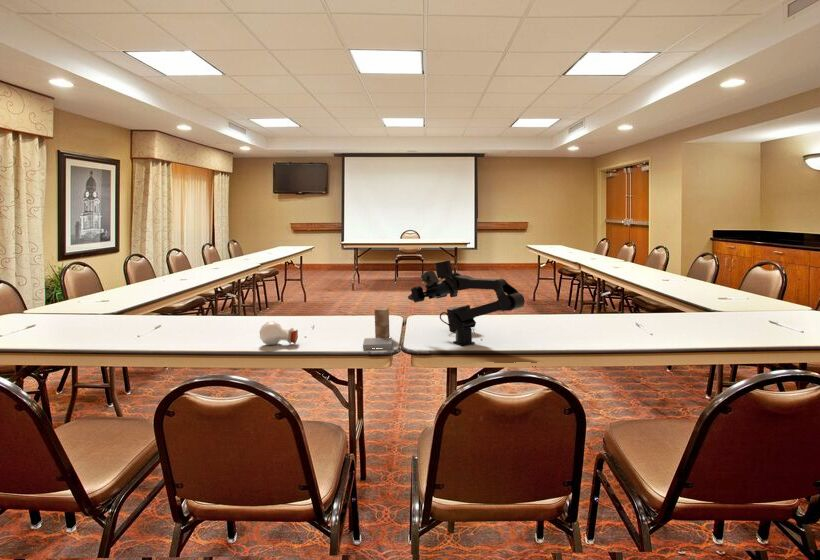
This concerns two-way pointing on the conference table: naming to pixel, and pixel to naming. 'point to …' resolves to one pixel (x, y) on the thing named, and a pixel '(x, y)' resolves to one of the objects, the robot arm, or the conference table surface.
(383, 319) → the walnut block
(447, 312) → the coffee mug
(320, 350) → the conference table surface
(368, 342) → the slate slab
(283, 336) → the potion bottle
